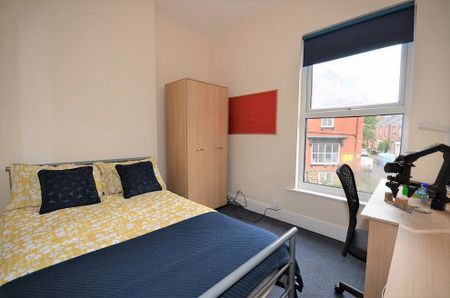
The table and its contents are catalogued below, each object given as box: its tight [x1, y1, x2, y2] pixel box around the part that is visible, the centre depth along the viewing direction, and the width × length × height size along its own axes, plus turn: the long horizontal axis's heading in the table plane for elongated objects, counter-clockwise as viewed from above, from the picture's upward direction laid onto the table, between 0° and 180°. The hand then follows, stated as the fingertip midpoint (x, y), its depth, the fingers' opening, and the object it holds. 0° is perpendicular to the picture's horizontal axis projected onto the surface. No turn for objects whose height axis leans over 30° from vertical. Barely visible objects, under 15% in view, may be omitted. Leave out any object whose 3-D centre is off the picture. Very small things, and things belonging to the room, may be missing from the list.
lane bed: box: [391, 203, 432, 214], centre depth 128 cm, size 13×20×2 cm, turn 4°
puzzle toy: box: [401, 179, 429, 200], centre depth 151 cm, size 10×10×10 cm
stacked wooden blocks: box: [383, 191, 410, 210], centre depth 130 cm, size 5×13×6 cm, turn 4°
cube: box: [394, 196, 409, 206], centre depth 127 cm, size 4×4×4 cm
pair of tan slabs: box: [408, 203, 431, 214], centre depth 124 cm, size 5×11×1 cm, turn 4°
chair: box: [414, 187, 428, 203], centre depth 137 cm, size 8×8×12 cm
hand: (401, 198), depth 127 cm, fingers open, 9 cm apart
